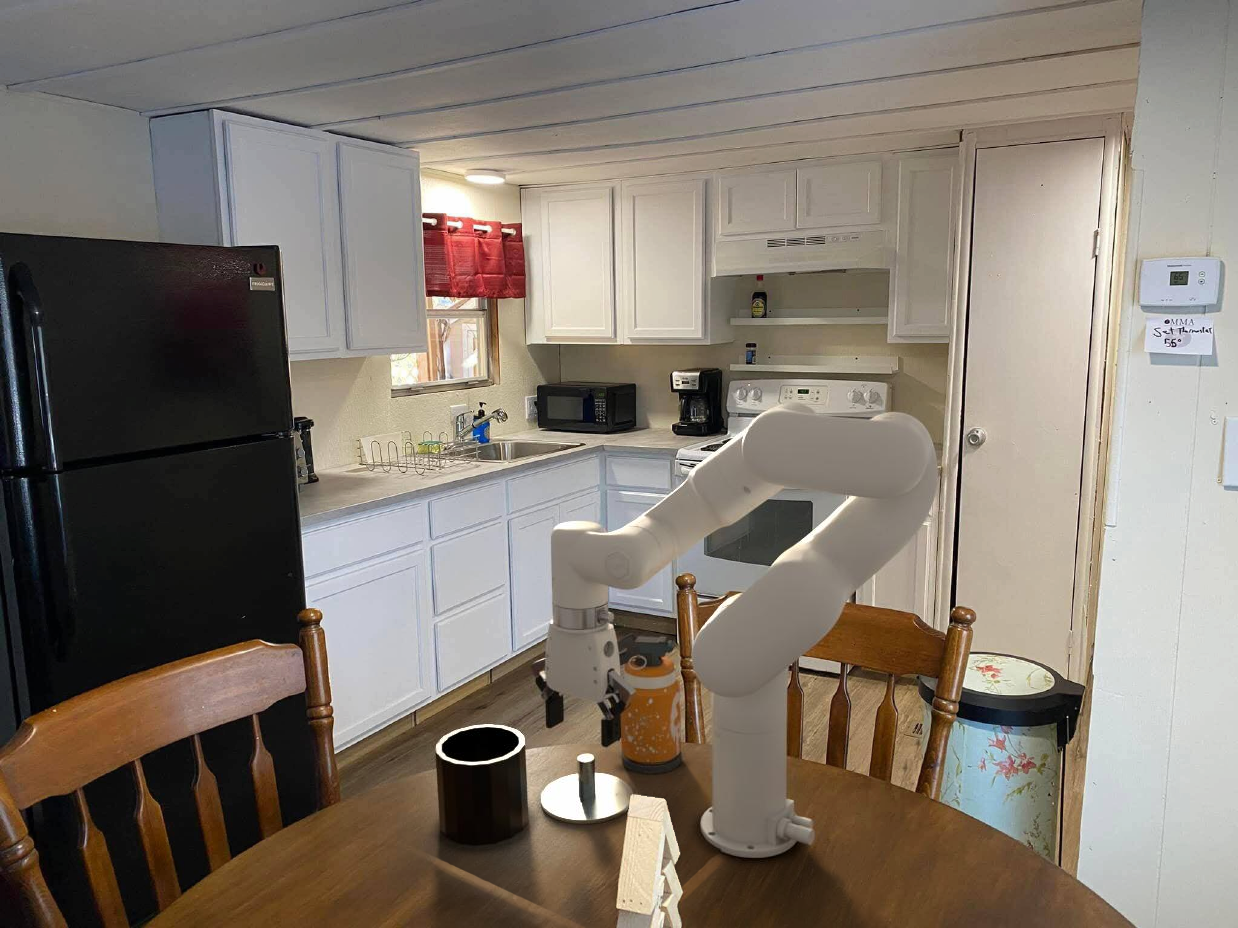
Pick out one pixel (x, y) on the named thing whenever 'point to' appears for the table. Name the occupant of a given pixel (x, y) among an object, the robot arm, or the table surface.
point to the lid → (586, 795)
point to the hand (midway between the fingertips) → (582, 733)
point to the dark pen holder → (482, 784)
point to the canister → (650, 706)
